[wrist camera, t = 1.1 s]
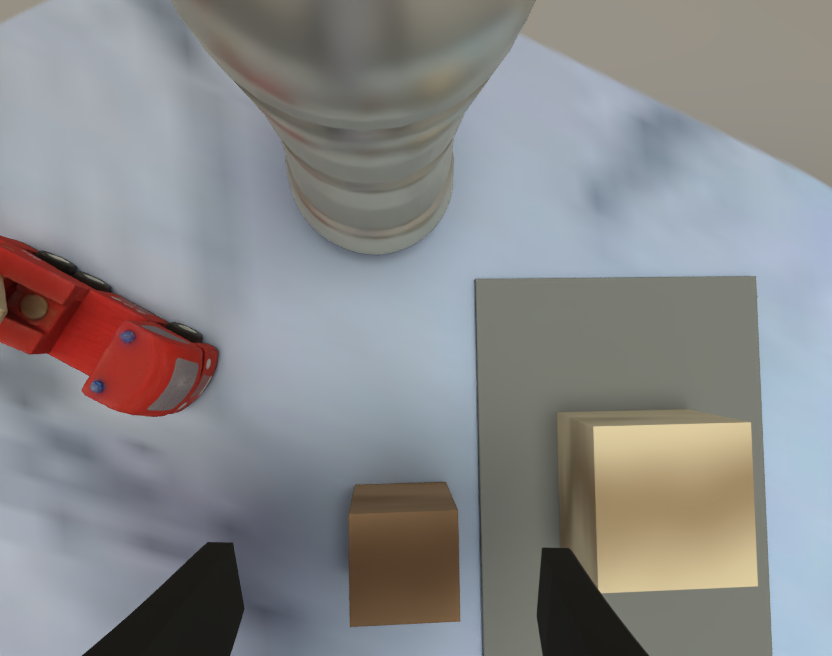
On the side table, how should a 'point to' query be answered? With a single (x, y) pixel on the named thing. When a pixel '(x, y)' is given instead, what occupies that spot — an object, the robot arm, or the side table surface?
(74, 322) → the toy fire truck
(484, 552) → the grey flat rectangular panel
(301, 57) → the plastic bottle
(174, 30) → the side table surface
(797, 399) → the side table surface
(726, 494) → the birch base block
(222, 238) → the side table surface
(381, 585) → the walnut block
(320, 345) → the side table surface
